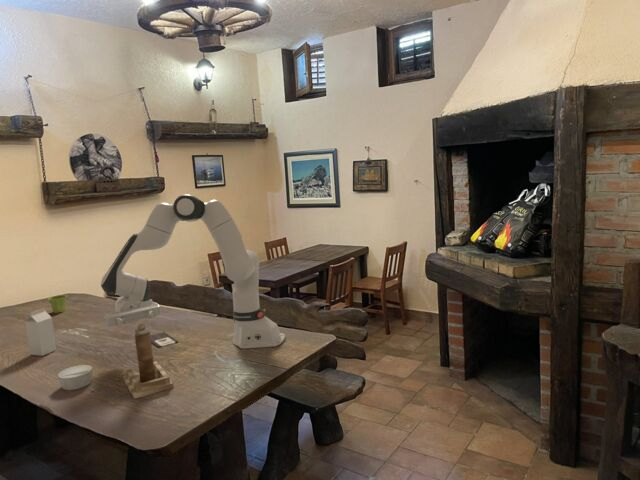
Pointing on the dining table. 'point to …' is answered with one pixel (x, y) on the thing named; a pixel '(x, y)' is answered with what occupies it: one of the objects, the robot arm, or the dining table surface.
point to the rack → (149, 387)
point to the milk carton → (40, 333)
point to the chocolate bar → (162, 339)
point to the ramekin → (75, 377)
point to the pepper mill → (144, 354)
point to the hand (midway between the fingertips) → (136, 319)
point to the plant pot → (58, 303)
